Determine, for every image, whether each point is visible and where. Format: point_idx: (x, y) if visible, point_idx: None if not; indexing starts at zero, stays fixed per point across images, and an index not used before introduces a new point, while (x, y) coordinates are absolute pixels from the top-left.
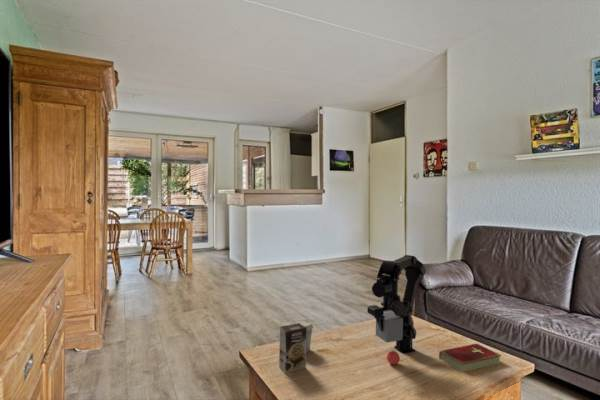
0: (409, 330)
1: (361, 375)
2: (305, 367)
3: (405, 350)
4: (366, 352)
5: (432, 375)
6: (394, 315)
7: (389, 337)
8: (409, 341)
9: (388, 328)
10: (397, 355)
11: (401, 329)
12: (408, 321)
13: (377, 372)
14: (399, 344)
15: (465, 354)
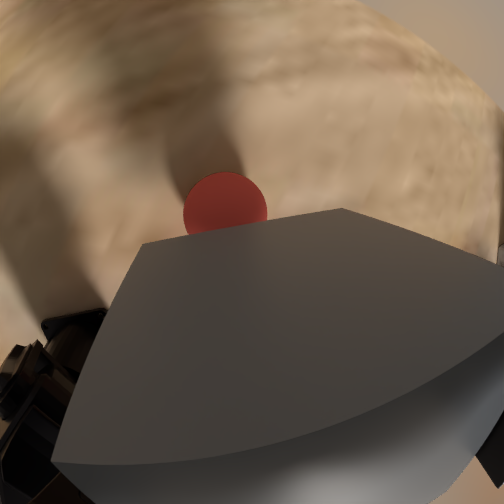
0: (25, 378)
1: (411, 148)
2: (500, 247)
3: (89, 323)
4: None
5: (78, 63)
6: None
7: (337, 221)
8: (52, 350)
9: (429, 248)
10: (211, 189)
11: (143, 287)
12: (8, 443)
13: (344, 146)
14: None
15: None
